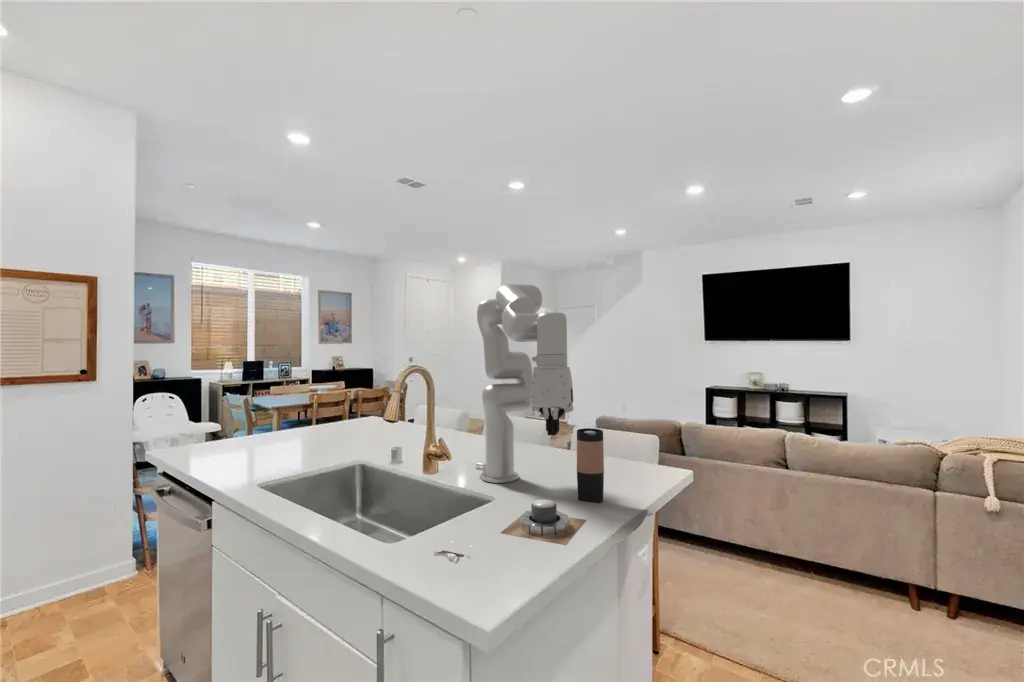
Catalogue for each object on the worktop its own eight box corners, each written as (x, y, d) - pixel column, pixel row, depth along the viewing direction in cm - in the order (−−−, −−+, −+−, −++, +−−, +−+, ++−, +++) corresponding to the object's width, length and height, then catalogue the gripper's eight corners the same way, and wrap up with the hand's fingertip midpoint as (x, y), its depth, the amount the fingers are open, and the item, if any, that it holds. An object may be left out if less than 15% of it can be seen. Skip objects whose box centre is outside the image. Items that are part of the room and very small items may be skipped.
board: (499, 538, 109) (499, 532, 109) (527, 515, 123) (527, 510, 123) (566, 550, 102) (565, 544, 102) (586, 524, 116) (586, 519, 116)
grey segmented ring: (512, 530, 110) (512, 522, 110) (531, 514, 120) (531, 506, 120) (559, 539, 105) (559, 530, 105) (575, 521, 115) (575, 513, 115)
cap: (527, 528, 111) (527, 505, 111) (537, 520, 116) (537, 498, 117) (551, 532, 108) (550, 508, 109) (560, 523, 114) (560, 501, 114)
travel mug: (587, 494, 140) (587, 427, 140) (609, 500, 134) (608, 430, 134) (571, 500, 134) (571, 430, 135) (593, 507, 129) (593, 434, 129)
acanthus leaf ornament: (451, 545, 106) (451, 537, 106) (476, 552, 103) (476, 543, 103) (429, 558, 100) (429, 549, 100) (455, 566, 96) (455, 557, 96)
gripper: (518, 361, 118) (519, 435, 118) (576, 362, 112) (576, 439, 112) (530, 360, 125) (531, 430, 125) (585, 361, 118) (585, 434, 118)
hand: (552, 434), depth 118 cm, fingers closed
